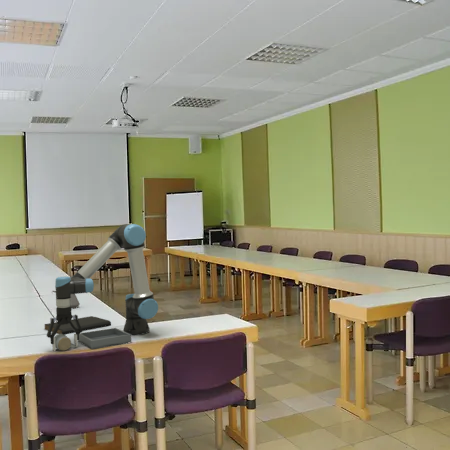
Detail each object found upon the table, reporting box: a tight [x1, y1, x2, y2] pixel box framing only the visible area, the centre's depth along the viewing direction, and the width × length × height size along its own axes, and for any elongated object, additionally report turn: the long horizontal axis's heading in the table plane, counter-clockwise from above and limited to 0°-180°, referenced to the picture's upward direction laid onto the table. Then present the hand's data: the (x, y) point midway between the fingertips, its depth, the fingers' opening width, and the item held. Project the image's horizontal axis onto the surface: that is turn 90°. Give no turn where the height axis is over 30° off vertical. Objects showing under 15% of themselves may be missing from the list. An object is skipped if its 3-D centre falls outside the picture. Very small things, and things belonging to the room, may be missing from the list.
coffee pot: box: [51, 290, 80, 309], centre depth 395 cm, size 21×12×15 cm, turn 132°
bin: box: [77, 327, 132, 350], centre depth 285 cm, size 22×22×4 cm
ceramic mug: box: [54, 333, 76, 352], centre depth 272 cm, size 11×8×8 cm
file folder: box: [43, 315, 112, 335], centre depth 326 cm, size 33×4×24 cm
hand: (65, 348), depth 272 cm, fingers closed on ceramic mug, 11 cm apart
